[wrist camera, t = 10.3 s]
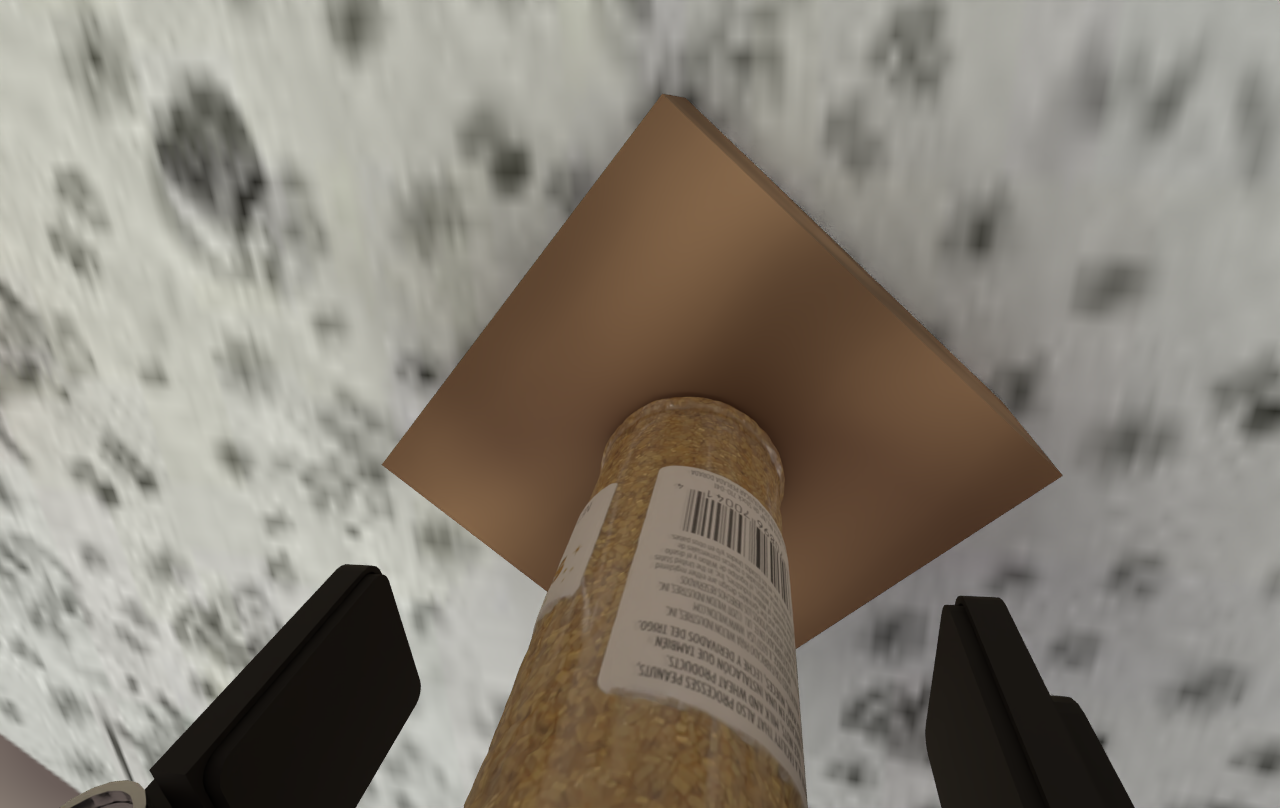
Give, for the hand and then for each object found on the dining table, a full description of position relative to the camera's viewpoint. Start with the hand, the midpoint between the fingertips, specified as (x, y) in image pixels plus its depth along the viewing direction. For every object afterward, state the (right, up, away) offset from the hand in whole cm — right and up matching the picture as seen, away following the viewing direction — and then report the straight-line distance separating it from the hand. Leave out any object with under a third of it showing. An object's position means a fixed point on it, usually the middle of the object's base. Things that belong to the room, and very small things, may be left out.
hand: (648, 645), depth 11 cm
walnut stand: (+2, +4, +9) cm, 10 cm away
